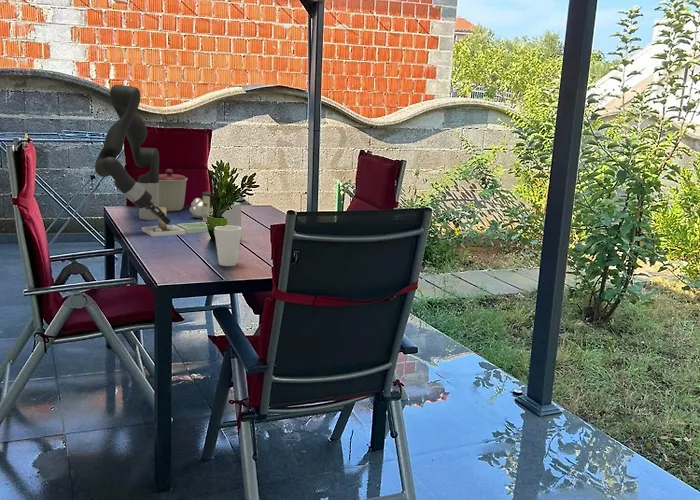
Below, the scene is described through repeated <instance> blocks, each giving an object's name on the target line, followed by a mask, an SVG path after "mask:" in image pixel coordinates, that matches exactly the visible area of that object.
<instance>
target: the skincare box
mask: <svg viewBox="0 0 700 500" xmlns="http://www.w3.org/2000/svg"><path fill="white" fill-rule="evenodd" d="M234 203H235V204H234V205H231V206H230V207H231V208H232V209H231V208H230V207H229V210H226V211H225V212H224V213H223V214H222V217H224V218H225V219H227V222H228V223H227V225H230V226H239V227H241V228H242V206H241V205H242V204H241V202H234ZM242 236H243V235H242V234H241V238H240V241H241V240H242V239H243V238H242Z"/></svg>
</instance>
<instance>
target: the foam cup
mask: <svg viewBox="0 0 700 500" xmlns="http://www.w3.org/2000/svg"><path fill="white" fill-rule="evenodd" d="M242 230H243V229H242V226H241V227H239V226H230V225H225V226H217V225H216V226H215V227H214V231H213V234H214V238H215V245H216V253H217V261H218V265H219V266H224V267H233V266H236V265H238V260H239V259H238V258H239V251H240V245H241V244H240V243H241V240H240V238H241V234H242Z"/></svg>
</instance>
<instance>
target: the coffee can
mask: <svg viewBox="0 0 700 500" xmlns="http://www.w3.org/2000/svg"><path fill="white" fill-rule="evenodd" d="M202 201H203V218H202V222H204V223H206V218H207V216H208V215H210V214H211V213H212V211H213V209H212V202H211V191H209V190H208V191H203V192H202Z"/></svg>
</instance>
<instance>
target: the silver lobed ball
mask: <svg viewBox="0 0 700 500" xmlns="http://www.w3.org/2000/svg"><path fill="white" fill-rule="evenodd" d="M190 205H191V206H190V207H189V212H190V213H191V214H192V216H193V217H195V218H196V219H200V220H201V219H202V220H203V199H202V198H200V197H196V198H194V199H193V201H192V202H191V204H190Z"/></svg>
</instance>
